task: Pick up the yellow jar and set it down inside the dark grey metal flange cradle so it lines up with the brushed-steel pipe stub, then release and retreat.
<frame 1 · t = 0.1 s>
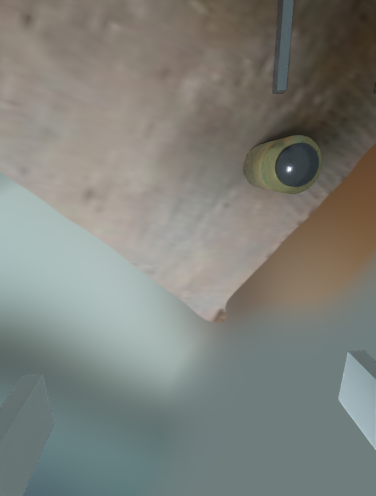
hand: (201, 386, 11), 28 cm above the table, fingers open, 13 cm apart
flange cradle: (336, 29, 31), on the table
yellow jar: (264, 166, 36), on the table
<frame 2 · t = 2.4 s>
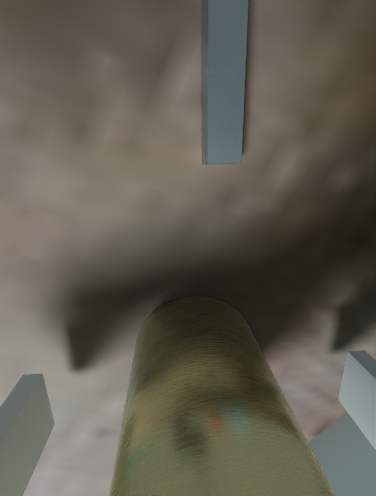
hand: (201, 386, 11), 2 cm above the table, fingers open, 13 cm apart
yellow jar: (194, 348, 13), on the table
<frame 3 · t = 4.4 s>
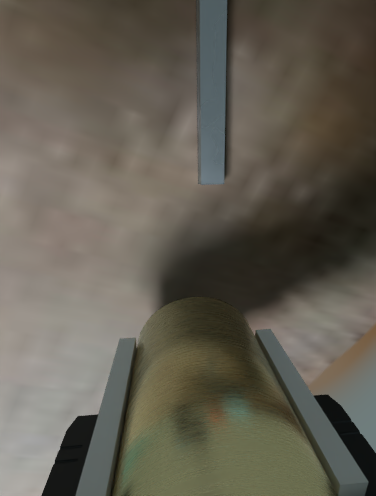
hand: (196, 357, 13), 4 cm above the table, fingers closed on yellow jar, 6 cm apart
flange cradle: (343, 40, 13), on the table
yellow jar: (196, 348, 13), point 4 cm above the table, touching gripper
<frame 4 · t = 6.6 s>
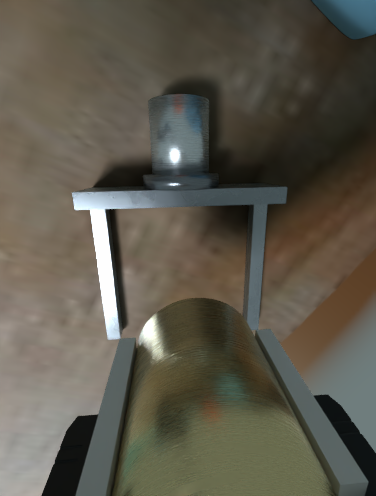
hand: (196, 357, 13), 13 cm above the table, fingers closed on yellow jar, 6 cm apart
flange cradle: (181, 264, 25), on the table
yellow jar: (196, 349, 13), point 12 cm above the table, touching gripper
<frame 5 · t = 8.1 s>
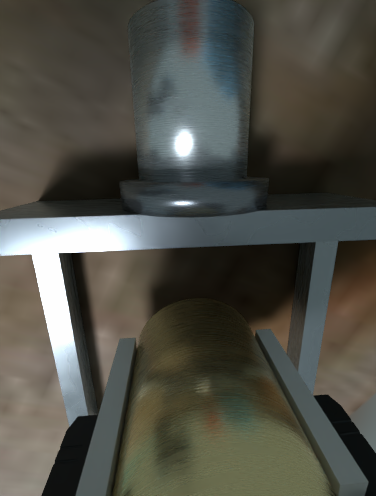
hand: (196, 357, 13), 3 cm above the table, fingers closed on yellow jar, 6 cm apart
flange cradle: (190, 322, 16), on the table
yellow jar: (196, 349, 13), point 3 cm above the table, touching gripper
when the fingers open (2 cm above the table, at t = 9.1 s): yellow jar drops 1 cm, on the table.
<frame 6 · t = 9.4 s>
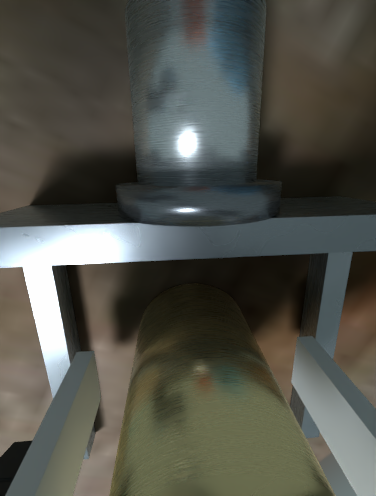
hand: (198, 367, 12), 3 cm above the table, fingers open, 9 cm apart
flange cradle: (193, 333, 15), on the table
yellow jar: (192, 330, 15), on the table
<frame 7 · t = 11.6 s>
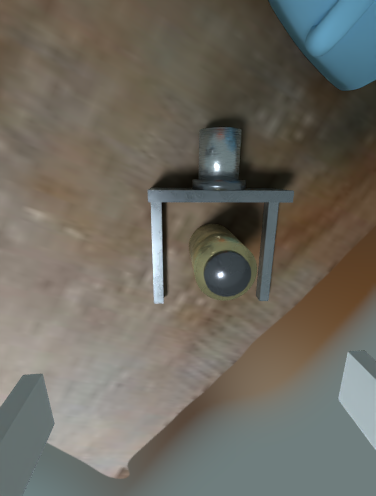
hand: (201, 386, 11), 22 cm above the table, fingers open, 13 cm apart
flange cradle: (212, 247, 33), on the table
yellow jar: (211, 246, 33), on the table
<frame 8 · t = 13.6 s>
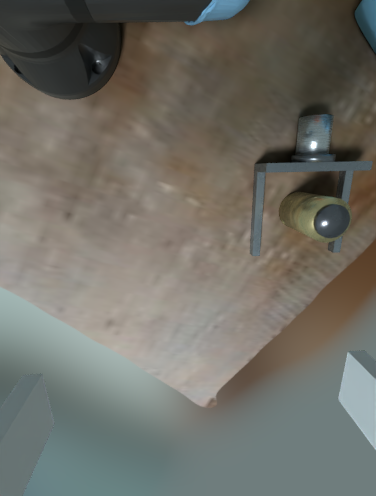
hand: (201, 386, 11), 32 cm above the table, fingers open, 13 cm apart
flange cradle: (296, 211, 42), on the table
yellow jar: (296, 210, 42), on the table
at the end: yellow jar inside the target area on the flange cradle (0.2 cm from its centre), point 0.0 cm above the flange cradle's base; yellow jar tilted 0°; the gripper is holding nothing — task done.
